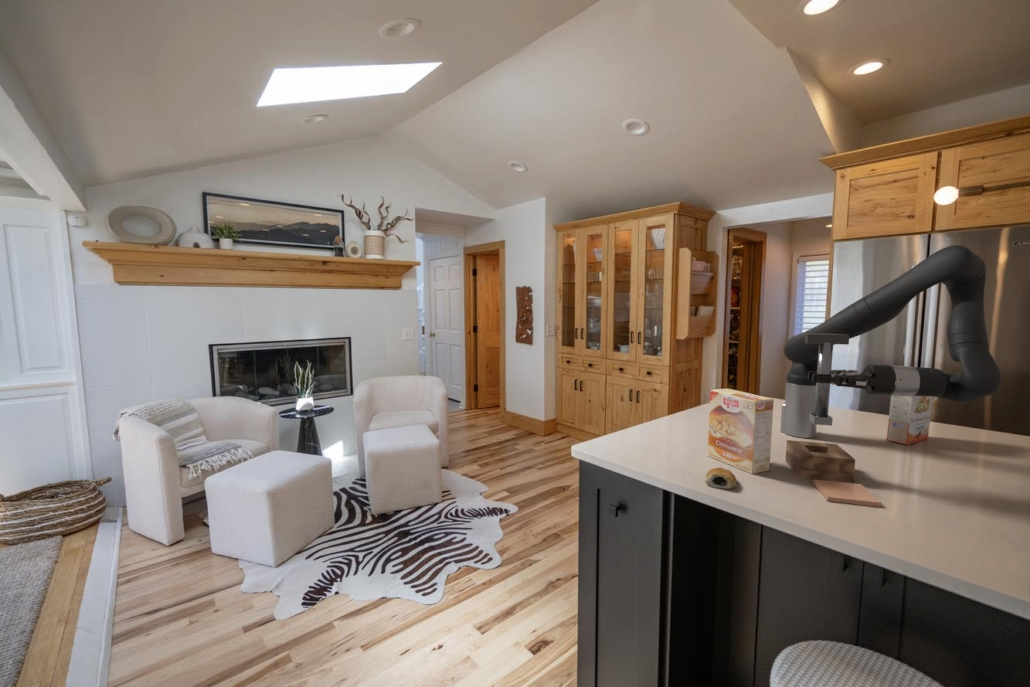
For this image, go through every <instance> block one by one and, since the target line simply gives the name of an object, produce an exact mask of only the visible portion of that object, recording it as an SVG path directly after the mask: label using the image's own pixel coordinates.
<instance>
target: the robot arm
mask: <svg viewBox="0 0 1030 687" xmlns="http://www.w3.org/2000/svg"><path fill="white" fill-rule="evenodd" d="M986 275H987V265H986V262H985V260H984V259H983V258H981V257H980V256H979V255H978V254H976V253H975V252H973V251H972V250H971V249H970V248H968V247H966V246H963V245H956V244H955V245H949V246H945V247H943V248H941V249H938V250H937V251H935V252H933V253H932V254H931V255H929V256H927V257H926V258H924V259H923V260H922V261H920V262H919V263H918V264H916V265H914V266H913V267H911V268H910V269H909V270H907V271H905V272H904V273H903V274H901V275H900V276H898V277H897V278H895V279H893V280H892V281H889V282H888V283H886V284H885V285H883V286H881V287H880V288H877V289H876V290H874V291H872V292H870V293H869V294H867V295H865V296H863V297H862V298H860V299H858V300H857V301H855V302H853V303H852V304H849V305H848V306H847V307H845V308H843V309H842V310H840V311H838V312H836V313H835V314H834V315H832V316H831V317H829V318H828V319H826V320H825V321H823V322H821V323H820V324H818V325H816V326H813V327H812V328H810V329H808V330H806V331H803V332H802V333H801V332H800V333H799V334H796V335H794V336H792V337H790V338H789V339H788V340H787V341H786V343H785V345H784V348H783V353H784V356H785V358H787V360H789V361H790V362H792V363H791V367H790V369H789V371H788V372H787V374H786V383H785V396H784V397H785V398H784V399H785V400H784V403H782V404H781V416H780V418H781V419H780V432H782V433H784V434H786V435H789V436H791V437H796V438H801V439H802V438H803V439H811V438H815V437H817V426H818V425H816V424H813V423H812V422H811V421H809V414H810V413H814V407H815V394H816V383H830V385H832V386H837V387H843V388H845V387H847V388H853V389H862V390H864V392H865V393H866V394H867V395H872V396H873V395H874V396H890V397H891V396H933V398H934V397H935V398H938V399H943V400H949V401H953V402H976V401H978V400H980V399H984V398H986V397H989V396H992V395H994V394H995V393H997V392H998V391H999V390H1000V388H1001V386H1002V381H1003V377H1002V373H1001V371H1000V369H999V366H998V365H997V362H996V360H995V358H994V357H993V355H992V354H991V352H990V346H989V345H990V344H989V338H988V333H987V326H986V320H985V307H984V306H985V305H984V304H985V286H986V284H985V283H986ZM938 284H942V285H945V286H946V289H947V291H948V294H949V298H950V304H951V308H950V313H949V314H950V315H949V317H948V321H947V324H946V339H947V347H948V354H949V357H950V359H951V360H953V361H954V362H956V363H960V366H961V371H959V372H958V373H945V372H944V371H943V370H942V369H938V368H935V367H919V366H917V367H916V366H907V365H891V364H888V365H887V364H867V365H866V366H865V367H864V369H863V371H862V372H861V371H858V370H855V369H848V370H847V369H831V376H830V374H817V366H818V352H819V344H807V343H805V333H813V334H847V335H849V340H850V339H853V338H856V337H859V336H861V335H864V334H866V333H869V332H871V331H873V330H875V329H877V328H879V327H881V326H882V325H885V324H887V323H889V322H890V321H892V320H894V319H895V318H896V317H898V316H899V315H900V314H901V313H902V311H903V310H904V309H905V308H906V307H907V305H908V304H910V302H911V301H912V300H913V299H915V297H916V296H918V295H919V294H921V293H922V292H923V293H924V292H925V291H926V290H928V289H930V288H933V287H934V286H936V285H938ZM835 345H836V344H833V346H835Z"/></svg>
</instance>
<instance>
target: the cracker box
mask: <svg viewBox="0 0 1030 687" xmlns="http://www.w3.org/2000/svg"><path fill="white" fill-rule="evenodd" d="M933 398H934V396H890V403H889V413H888V414H889V415H888V423H887V433H886V441H889V442H893V443H896V444H901V445H905V446H909V445H911V444H915V443H919V442H922V441H924V440H927V439H929V438H928V437H929V430H930V422H931V414H932V405H933Z"/></svg>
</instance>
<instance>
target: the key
mask: <svg viewBox="0 0 1030 687" xmlns="http://www.w3.org/2000/svg"><path fill="white" fill-rule="evenodd" d="M805 343H807V344H819V352H818V366H817V374H830V376H831V370H832V367H833V354H834V345H833V344H835V345H847V346H849V345H850V344H849V343H850V339H849V335H847V334H813V333H805ZM830 391H831V384H830V383H816V394H815V407H814V413H810V414H809V421H811V422H812V423H813V424H816V425H817V426H818V425H819V426H820V425H821V426H829V427H830V426H831V427H832V426H833V417H832V416H831V415H830V414H829V406H830V394H831V392H830Z"/></svg>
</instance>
